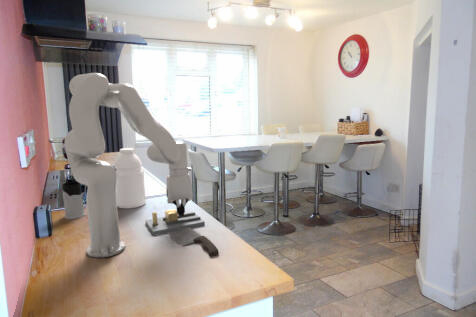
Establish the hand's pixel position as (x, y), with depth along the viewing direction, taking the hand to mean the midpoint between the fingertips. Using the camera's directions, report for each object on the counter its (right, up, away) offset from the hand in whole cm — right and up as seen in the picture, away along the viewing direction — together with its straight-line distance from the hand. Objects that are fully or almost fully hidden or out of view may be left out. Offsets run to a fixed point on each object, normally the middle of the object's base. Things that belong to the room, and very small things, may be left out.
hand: (181, 214), depth 145 cm
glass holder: (-48, -2, +16) cm, 51 cm away
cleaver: (+7, -7, -18) cm, 21 cm away
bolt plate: (-2, -4, -1) cm, 5 cm away
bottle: (-29, 0, +28) cm, 41 cm away
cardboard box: (-4, -2, -1) cm, 4 cm away
